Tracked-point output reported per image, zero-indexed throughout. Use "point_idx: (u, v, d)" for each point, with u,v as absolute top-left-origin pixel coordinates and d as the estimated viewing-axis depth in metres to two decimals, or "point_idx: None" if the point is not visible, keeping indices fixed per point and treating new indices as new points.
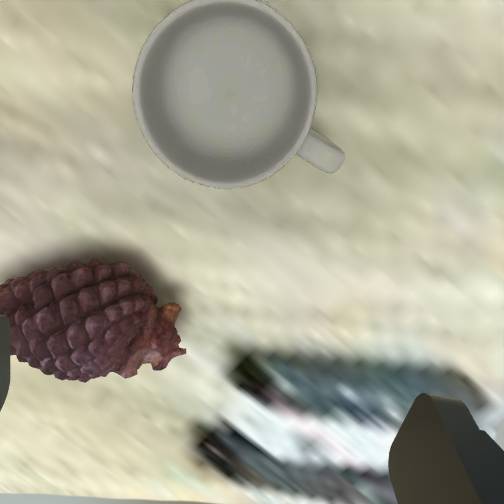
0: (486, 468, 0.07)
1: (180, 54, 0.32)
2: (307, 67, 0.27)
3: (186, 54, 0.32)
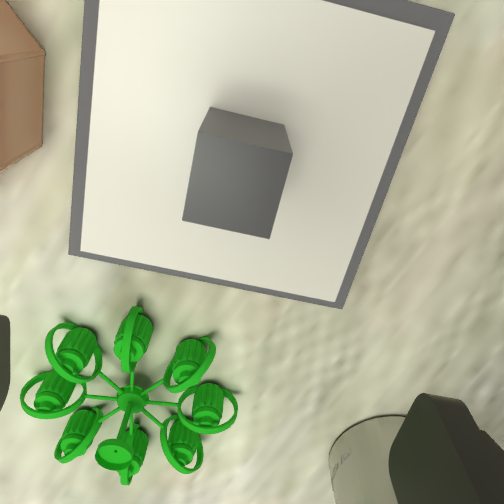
0: (486, 468, 0.07)
1: None
2: None
3: None
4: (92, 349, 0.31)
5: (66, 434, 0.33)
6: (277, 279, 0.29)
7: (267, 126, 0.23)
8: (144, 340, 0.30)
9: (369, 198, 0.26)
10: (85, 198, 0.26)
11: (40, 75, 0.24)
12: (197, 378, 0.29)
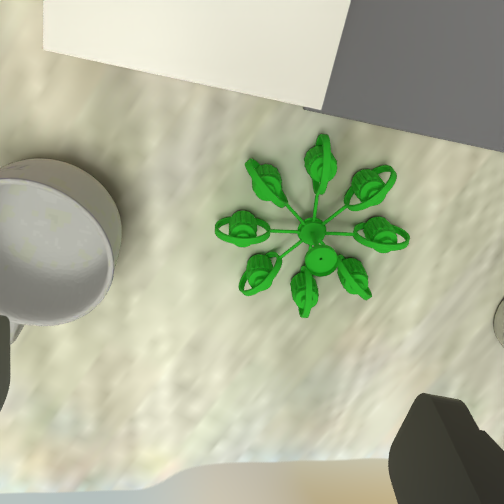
0: (486, 468, 0.07)
1: None
2: (71, 315, 0.32)
3: None
4: None
5: (252, 269, 0.36)
6: (258, 82, 0.27)
7: None
8: (335, 161, 0.33)
9: None
10: None
11: None
12: (387, 190, 0.32)
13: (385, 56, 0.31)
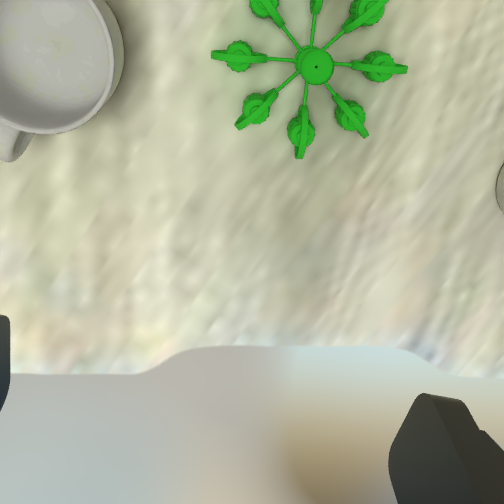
0: (486, 468, 0.07)
1: None
2: (70, 124, 0.32)
3: (82, 1, 0.34)
4: None
5: (248, 100, 0.36)
6: None
7: None
8: None
9: None
10: None
11: None
12: (385, 1, 0.32)
13: None
